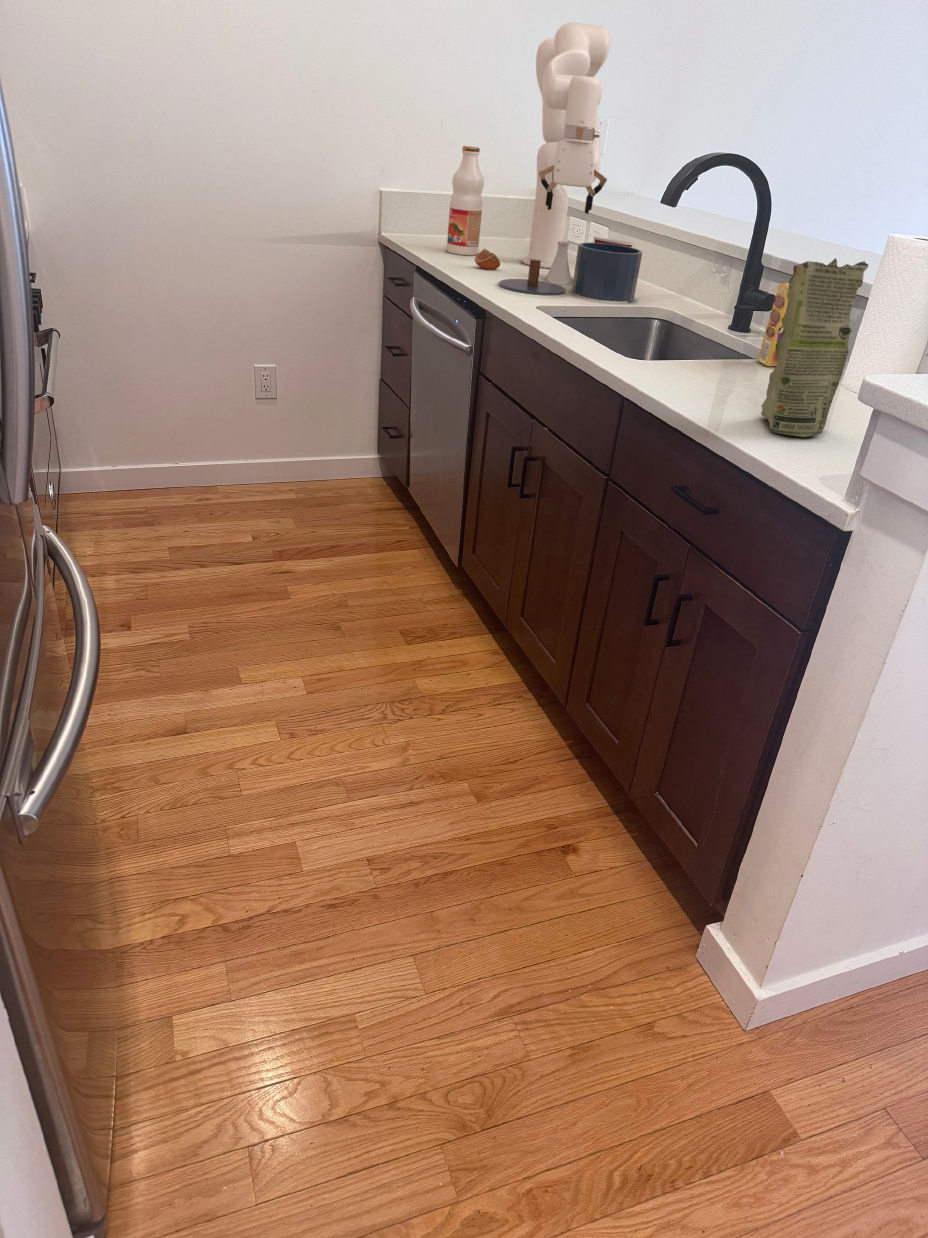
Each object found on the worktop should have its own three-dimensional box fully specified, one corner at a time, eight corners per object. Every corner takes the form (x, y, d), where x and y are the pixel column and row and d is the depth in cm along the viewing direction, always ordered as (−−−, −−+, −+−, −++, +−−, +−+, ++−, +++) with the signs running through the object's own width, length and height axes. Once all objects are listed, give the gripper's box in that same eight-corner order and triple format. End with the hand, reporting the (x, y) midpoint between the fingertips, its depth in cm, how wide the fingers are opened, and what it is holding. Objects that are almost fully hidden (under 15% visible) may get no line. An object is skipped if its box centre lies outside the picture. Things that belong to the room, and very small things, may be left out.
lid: (497, 281, 226) (501, 251, 222) (561, 287, 227) (565, 257, 223) (499, 293, 212) (503, 261, 208) (567, 300, 212) (572, 268, 209)
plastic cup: (633, 288, 235) (642, 240, 229) (611, 291, 228) (619, 242, 222) (601, 280, 241) (608, 233, 235) (577, 283, 234) (585, 235, 228)
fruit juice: (480, 256, 258) (490, 149, 244) (448, 254, 257) (457, 146, 242) (474, 251, 266) (484, 147, 252) (444, 248, 264) (452, 143, 250)
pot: (568, 287, 227) (575, 240, 221) (628, 293, 228) (637, 246, 222) (574, 299, 214) (582, 249, 208) (638, 306, 214) (647, 255, 208)
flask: (570, 286, 230) (576, 245, 225) (543, 282, 231) (548, 241, 226) (572, 281, 236) (578, 241, 231) (546, 278, 237) (551, 238, 232)
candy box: (767, 367, 172) (789, 285, 164) (756, 361, 175) (777, 280, 168) (807, 368, 174) (830, 288, 166) (795, 362, 177) (818, 283, 170)
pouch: (748, 430, 135) (795, 257, 122) (755, 410, 144) (798, 248, 132) (823, 445, 132) (879, 269, 119) (825, 424, 141) (876, 259, 129)
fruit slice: (503, 273, 236) (505, 254, 234) (480, 272, 234) (482, 252, 232) (492, 267, 243) (494, 248, 240) (470, 266, 241) (471, 247, 238)
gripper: (610, 138, 219) (599, 213, 228) (542, 131, 219) (533, 206, 227) (615, 138, 213) (603, 215, 221) (544, 131, 212) (535, 208, 221)
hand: (567, 210), depth 224 cm, fingers open, 9 cm apart
